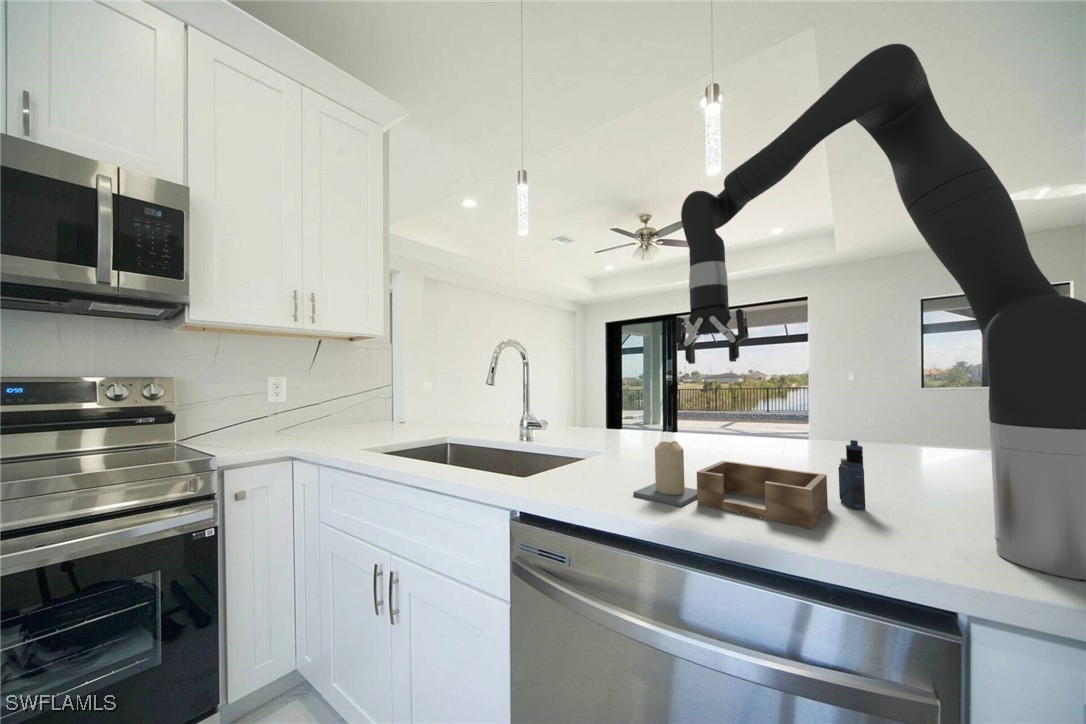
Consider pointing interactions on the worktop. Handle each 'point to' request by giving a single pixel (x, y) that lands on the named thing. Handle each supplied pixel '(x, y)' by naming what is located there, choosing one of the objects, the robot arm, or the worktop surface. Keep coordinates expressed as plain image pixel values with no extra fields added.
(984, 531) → the worktop surface
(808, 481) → the box
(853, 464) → the vaping device
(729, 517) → the worktop surface
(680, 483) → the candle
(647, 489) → the mat
